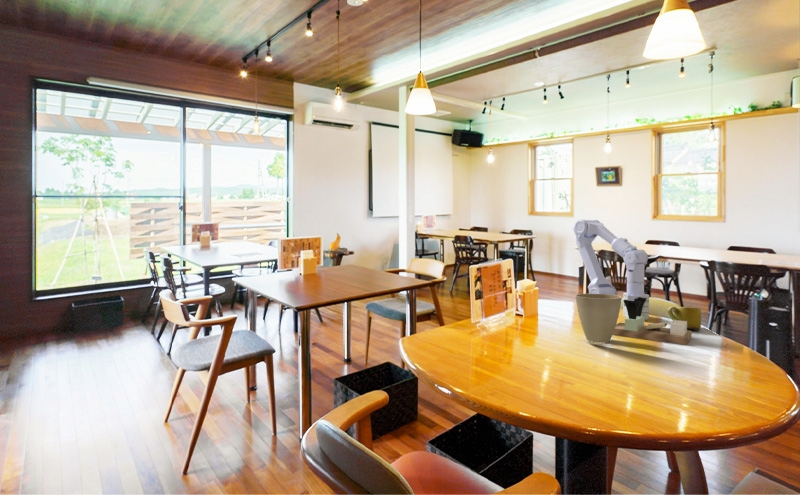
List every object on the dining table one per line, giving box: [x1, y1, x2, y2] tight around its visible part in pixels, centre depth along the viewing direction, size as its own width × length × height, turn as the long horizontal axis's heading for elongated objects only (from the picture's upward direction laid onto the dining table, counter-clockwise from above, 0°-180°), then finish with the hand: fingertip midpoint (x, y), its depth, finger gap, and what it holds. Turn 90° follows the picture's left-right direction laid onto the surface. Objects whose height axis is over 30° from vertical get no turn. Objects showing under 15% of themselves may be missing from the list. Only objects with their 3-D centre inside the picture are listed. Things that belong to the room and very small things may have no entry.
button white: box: [669, 320, 688, 336], centre depth 153 cm, size 4×8×4 cm, turn 140°
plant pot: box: [575, 293, 623, 344], centre depth 152 cm, size 15×15×16 cm
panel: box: [612, 322, 693, 346], centre depth 160 cm, size 24×14×4 cm, turn 50°
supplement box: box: [622, 292, 650, 321], centre depth 185 cm, size 7×7×13 cm
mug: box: [667, 306, 702, 331], centre depth 169 cm, size 12×10×10 cm
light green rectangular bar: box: [624, 316, 645, 331], centre depth 162 cm, size 4×12×4 cm, turn 140°
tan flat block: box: [645, 321, 668, 329], centre depth 158 cm, size 6×5×1 cm
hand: (634, 317), depth 162 cm, fingers open, 7 cm apart
